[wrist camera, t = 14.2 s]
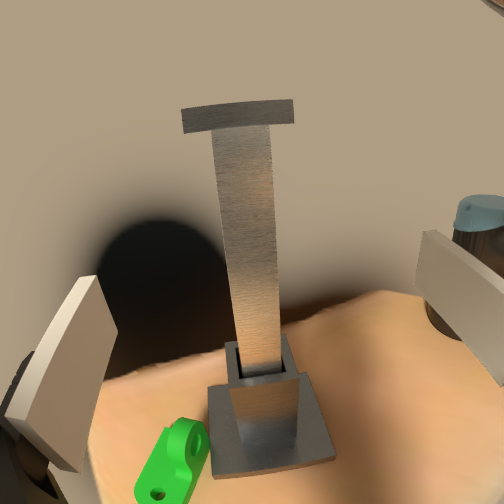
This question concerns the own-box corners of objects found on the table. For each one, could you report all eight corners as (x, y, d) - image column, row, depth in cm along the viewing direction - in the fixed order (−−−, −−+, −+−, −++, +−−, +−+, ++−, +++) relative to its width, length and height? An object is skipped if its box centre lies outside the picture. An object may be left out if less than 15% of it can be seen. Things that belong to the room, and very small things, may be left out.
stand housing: (306, 378, 41) (309, 299, 35) (334, 459, 28) (354, 391, 22) (209, 393, 40) (188, 316, 34) (214, 479, 27) (183, 419, 21)
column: (290, 373, 33) (281, 101, 21) (297, 397, 29) (293, 99, 17) (229, 382, 32) (185, 110, 20) (231, 407, 29) (180, 109, 17)
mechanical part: (169, 434, 34) (150, 399, 30) (212, 445, 32) (198, 411, 29) (133, 506, 23) (101, 482, 20) (179, 524, 22) (155, 506, 18)
